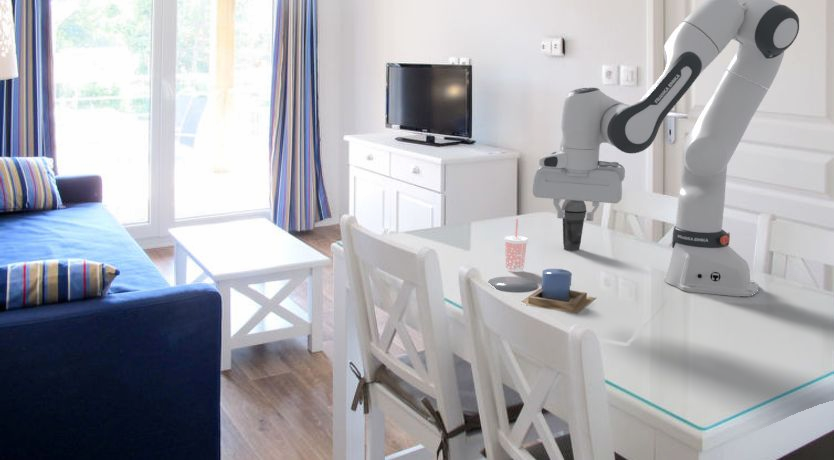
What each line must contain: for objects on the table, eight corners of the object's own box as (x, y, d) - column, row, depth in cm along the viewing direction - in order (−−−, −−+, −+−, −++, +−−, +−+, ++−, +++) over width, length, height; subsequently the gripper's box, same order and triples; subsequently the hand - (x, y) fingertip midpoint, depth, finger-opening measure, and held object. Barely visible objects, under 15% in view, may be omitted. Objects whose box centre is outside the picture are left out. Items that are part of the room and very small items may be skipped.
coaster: (543, 284, 220) (544, 280, 219) (526, 296, 209) (526, 292, 209) (499, 277, 225) (499, 274, 225) (480, 289, 215) (480, 285, 214)
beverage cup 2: (557, 245, 261) (561, 178, 256) (582, 246, 260) (586, 179, 256) (560, 251, 254) (564, 183, 249) (585, 252, 253) (590, 183, 249)
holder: (595, 300, 208) (596, 292, 207) (577, 316, 196) (577, 307, 195) (539, 291, 214) (539, 283, 214) (518, 306, 202) (518, 297, 201)
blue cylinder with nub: (561, 305, 201) (563, 277, 200) (536, 299, 205) (537, 272, 203) (579, 295, 209) (581, 269, 208) (554, 290, 213) (556, 264, 211)
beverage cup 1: (517, 267, 236) (519, 216, 233) (531, 273, 230) (533, 220, 227) (498, 269, 233) (500, 217, 230) (511, 275, 227) (514, 222, 224)
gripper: (626, 160, 201) (622, 220, 204) (537, 155, 207) (534, 213, 210) (624, 164, 196) (619, 225, 199) (532, 158, 202) (529, 218, 205)
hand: (575, 219), depth 205 cm, fingers open, 5 cm apart
